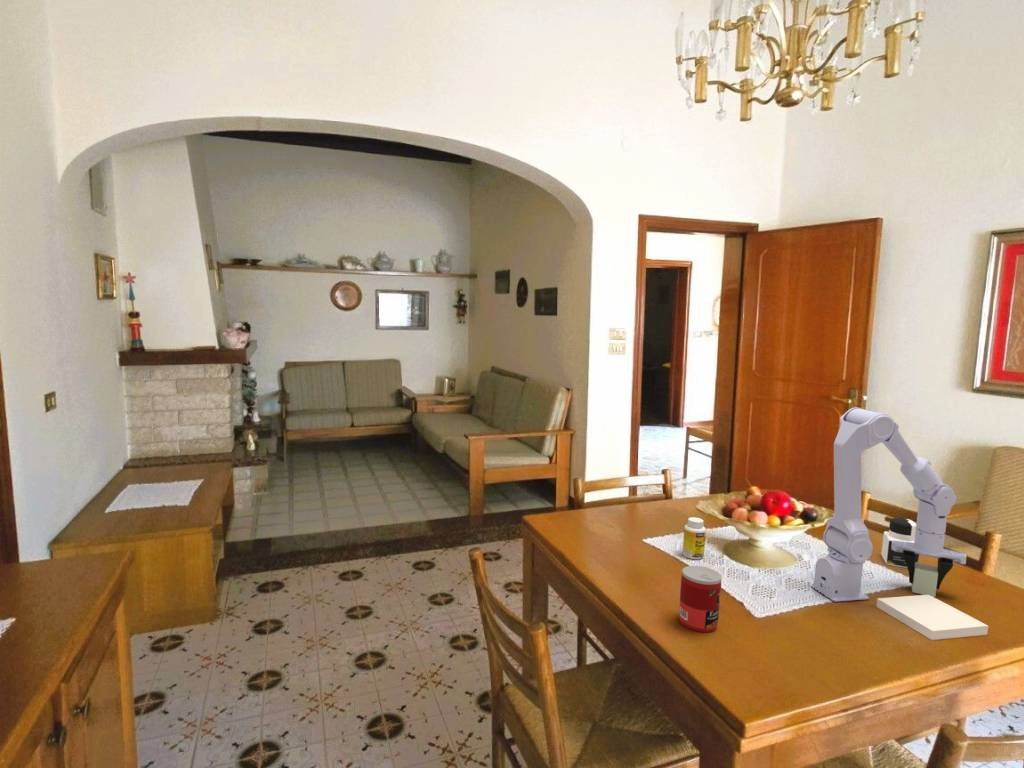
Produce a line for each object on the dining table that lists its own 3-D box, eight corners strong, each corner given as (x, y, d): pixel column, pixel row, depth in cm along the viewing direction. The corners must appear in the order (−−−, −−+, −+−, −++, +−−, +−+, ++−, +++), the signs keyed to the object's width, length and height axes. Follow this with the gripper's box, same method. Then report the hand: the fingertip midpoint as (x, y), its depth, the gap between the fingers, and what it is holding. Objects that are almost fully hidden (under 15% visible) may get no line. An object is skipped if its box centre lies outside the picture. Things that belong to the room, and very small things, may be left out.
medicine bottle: (886, 565, 158) (891, 521, 156) (880, 555, 164) (885, 513, 163) (917, 570, 155) (922, 526, 154) (910, 560, 162) (915, 517, 160)
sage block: (935, 597, 139) (938, 573, 139) (912, 592, 141) (915, 568, 141) (933, 590, 143) (936, 566, 142) (911, 585, 145) (914, 561, 145)
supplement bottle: (694, 561, 155) (697, 524, 154) (678, 554, 160) (680, 518, 159) (708, 557, 158) (711, 521, 157) (691, 550, 163) (694, 514, 162)
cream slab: (931, 642, 120) (932, 631, 120) (876, 608, 134) (877, 598, 133) (986, 637, 123) (988, 625, 123) (927, 604, 137) (928, 594, 136)
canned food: (712, 637, 118) (717, 585, 117) (673, 625, 122) (677, 574, 121) (721, 621, 125) (725, 571, 123) (684, 610, 129) (687, 562, 128)
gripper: (965, 532, 140) (959, 586, 142) (893, 519, 148) (887, 571, 149) (970, 541, 134) (962, 597, 136) (894, 527, 142) (888, 581, 143)
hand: (923, 584), depth 142 cm, fingers closed on sage block, 4 cm apart
